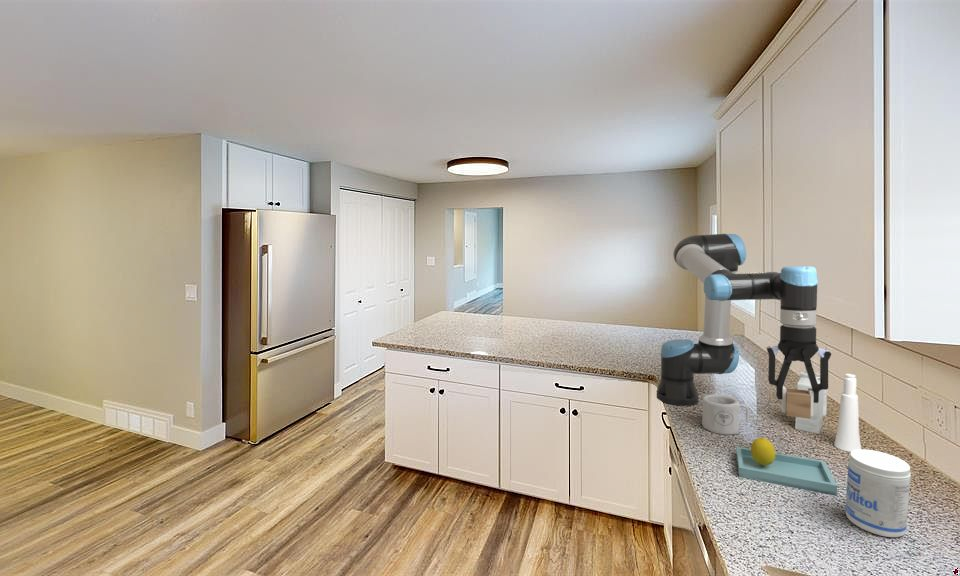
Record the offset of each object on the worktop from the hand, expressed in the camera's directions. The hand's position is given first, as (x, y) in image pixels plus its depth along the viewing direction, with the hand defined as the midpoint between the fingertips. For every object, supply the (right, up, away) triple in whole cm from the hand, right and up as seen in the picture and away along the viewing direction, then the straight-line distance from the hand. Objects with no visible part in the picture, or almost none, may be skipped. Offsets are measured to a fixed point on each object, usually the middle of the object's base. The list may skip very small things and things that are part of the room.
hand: (796, 412), depth 110 cm
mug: (-2, -14, +28) cm, 32 cm away
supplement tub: (+1, -18, -21) cm, 28 cm away
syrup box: (+33, -12, +37) cm, 51 cm away
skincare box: (+24, -13, +26) cm, 38 cm away
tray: (-4, -16, 0) cm, 17 cm away
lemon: (-7, -16, +3) cm, 17 cm away
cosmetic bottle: (+24, -14, +12) cm, 31 cm away
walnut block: (0, 0, 0) cm, 0 cm away
